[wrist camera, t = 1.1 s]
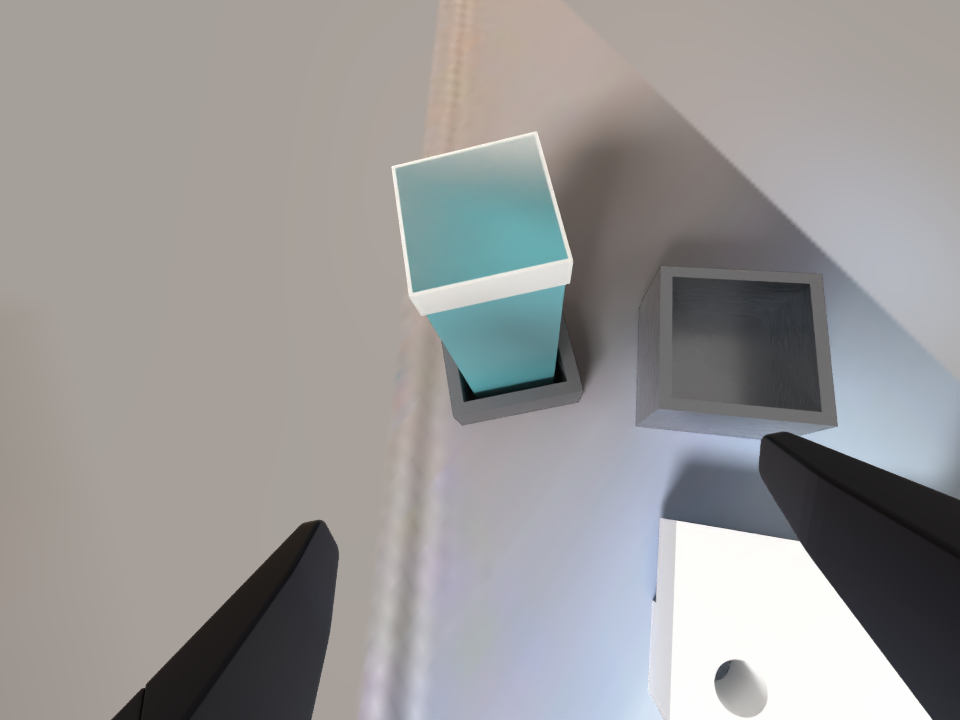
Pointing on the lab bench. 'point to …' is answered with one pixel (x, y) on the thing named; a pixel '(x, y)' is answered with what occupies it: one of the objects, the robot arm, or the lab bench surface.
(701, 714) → the bracket
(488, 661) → the lab bench surface
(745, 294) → the box
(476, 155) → the plug
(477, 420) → the frame
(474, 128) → the lab bench surface
